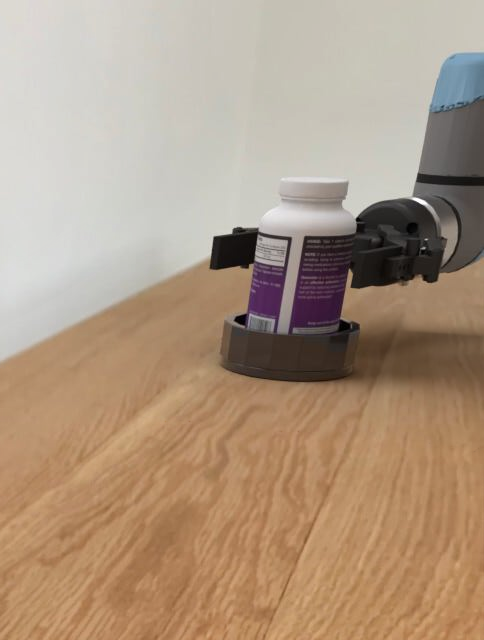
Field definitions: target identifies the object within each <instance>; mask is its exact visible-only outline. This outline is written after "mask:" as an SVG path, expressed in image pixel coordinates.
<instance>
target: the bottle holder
mask: <svg viewBox="0 0 484 640" xmlns="http://www.w3.org/2000/svg"><path fill="white" fill-rule="evenodd" d="M246 317H247V311H240V312H235V313H231V314H228V315H226V317H225V319H224V322H223V328H222V329H223V330H222V336H221V343H220V352H219V355H220V356H219V364H220V366H222V367H223V368H224V369H226V370H228V371H231V372H234V373H237V374H240V375H244V376H248V377H253V378H254V377H255V378H260V379H266V380H276V381H288V382H319V381H330V380H337V379H341V378H344V377H347V376H349V375H350V374H351V373H352V371H353V367H354V364H355V359H356V353H357V349H358V343H359V338H360V333H361V324H360V323H358V322H356V321H354V320H351V319H349V318H345V317H340V323H339V328H338V332H335V333H326V334H298V333H283V332H273V331H266V330H259V329H254V328H250V327H246V326H245V324H246Z"/></svg>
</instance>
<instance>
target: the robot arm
mask: <svg viewBox="0 0 484 640" xmlns="http://www.w3.org/2000/svg"><path fill="white" fill-rule="evenodd" d="M427 115H428V116H427V121H426V127H425V133H424V138H423V145H422V150H421V155H420V159H419V166H418V169H417V170H418V171H417V174H416V178H415V182H414V186H413V190H412V195H411V196H406V197H398V198H394V199H386V200H381V201H376V202H374V203H372V204H370V205H368V206H367V207H366V208H364V209H363V210H362V211H361V212H359V214H358V215H357V216H356V217H355V220H356V225H357V227H356V234H355V240H354V245H353V250H352V256H351V261H350V267H349V271H350V272H351V274H352V276H351V282H350V286H349V288H350V289H356V290H361V289H364V288H370V287H378V288H379V287H387V286H392V285H397V284H398V286H399V287H407V286H409V283H410V281H414V280H415V279H422V281H423V282H426V283H427V284H435V283H437V282H438V281H439V277H440V274H452V273H455V272H458V271H461V270H462V269H465V268H466V267H467V268H468V267H469V266H472V265H473V264H475V263H477V262H479V261H481V260H482V259H483V258H484V52H455V53H453V54H451V55H450V56H448V57H447V58H446V59H445V60H444V61H443V63H442V65H441V66H440V70H439V73H438V77H437V78H436V82H435V86H434V89H433V94H432V98H431V102H430V104H429V108H428V114H427ZM258 230H259V226H258V227H243V226H236V227H233V228H232V230H231V233H227V234H221V235H213V238H212V246H211V254H210V259H209V260H210V261H209V268H208V270H213V271H220V270H226V269H230V268H238V267H240V268H239V269H244V270H249V269H250V265H254V260H255V252H256V245H257V238H258Z"/></svg>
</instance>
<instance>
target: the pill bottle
mask: <svg viewBox="0 0 484 640" xmlns="http://www.w3.org/2000/svg"><path fill="white" fill-rule="evenodd" d="M349 184H350V181H349V179H346V178H340V177H325V176H290V177H282V178H281V179H280V181H279V188H278V198H279V199H280V202H279V204H278V206H276V207H273V208H271V209H270V210H268V211H267V212H265V213H264V215H263V216H262V217H261V219H260V221H259V225H258V227H259V230H258V238H257V245H256V252H255V260H254V264H253V266H252V274H251V282H250V287H249V288H250V289H249V296H248V303H247V310H246V312H247V317H246V324H245V326H246V327H250V328H254V329H259V330H266V331H273V332H283V333H298V334H326V333H335V332H338V328H339V323H340V317H341V316H342V311H343V305H344V300H345V296H346V295H345V294H346V288H347V282H348V279H349V272H350V269H349V267H350V261H351V256H352V250H353V245H354V240H355V234H356V227H357V225H356V220H355V219H356V217H355V216H354V215H353V214H352V212H350V211H348V210H347V209H345V208H344V207H343V206H344V205H343V201H345V200H346V199H347V196H348V191H349ZM341 318H342V317H341Z"/></svg>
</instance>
